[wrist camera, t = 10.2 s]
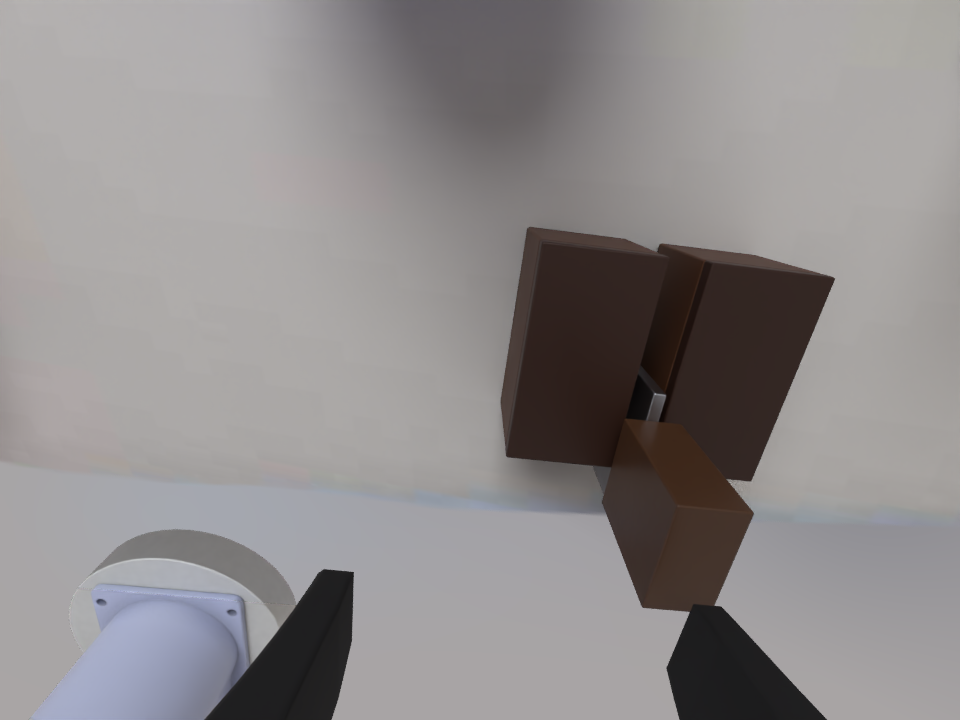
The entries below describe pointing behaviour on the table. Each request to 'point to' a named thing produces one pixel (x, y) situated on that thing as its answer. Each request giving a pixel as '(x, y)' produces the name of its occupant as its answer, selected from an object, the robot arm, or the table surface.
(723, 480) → the brown and grey piece
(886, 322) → the table surface
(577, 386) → the split wooden block
